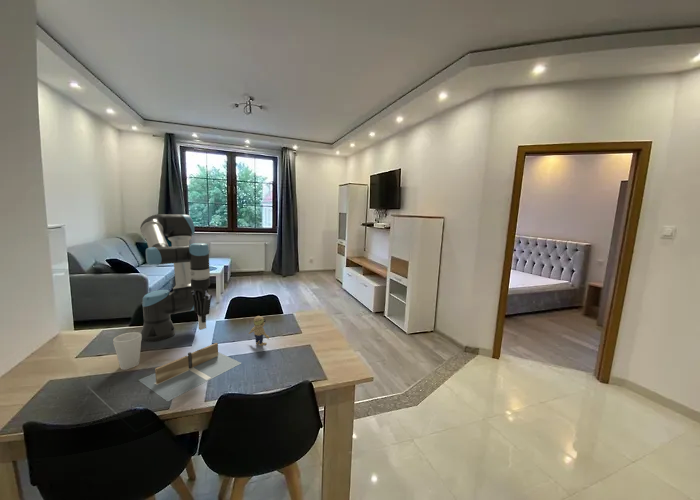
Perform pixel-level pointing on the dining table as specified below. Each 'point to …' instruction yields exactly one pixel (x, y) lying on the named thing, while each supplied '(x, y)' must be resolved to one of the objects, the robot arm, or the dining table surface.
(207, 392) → the dining table surface
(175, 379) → the card
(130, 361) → the foam cup
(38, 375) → the dining table surface
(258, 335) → the toy
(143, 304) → the robot arm
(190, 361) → the hinged panel
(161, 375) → the fixed panel
